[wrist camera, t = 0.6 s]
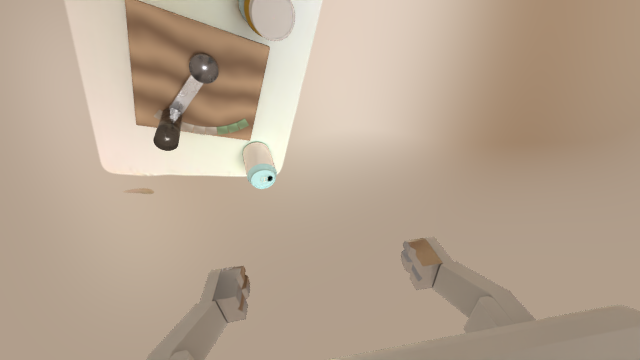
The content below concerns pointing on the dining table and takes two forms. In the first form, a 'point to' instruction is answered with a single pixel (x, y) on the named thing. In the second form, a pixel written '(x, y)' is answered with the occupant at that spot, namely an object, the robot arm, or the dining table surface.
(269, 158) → the can
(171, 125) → the peg lever
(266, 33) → the bottle
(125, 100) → the dining table surface
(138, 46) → the tuner board
